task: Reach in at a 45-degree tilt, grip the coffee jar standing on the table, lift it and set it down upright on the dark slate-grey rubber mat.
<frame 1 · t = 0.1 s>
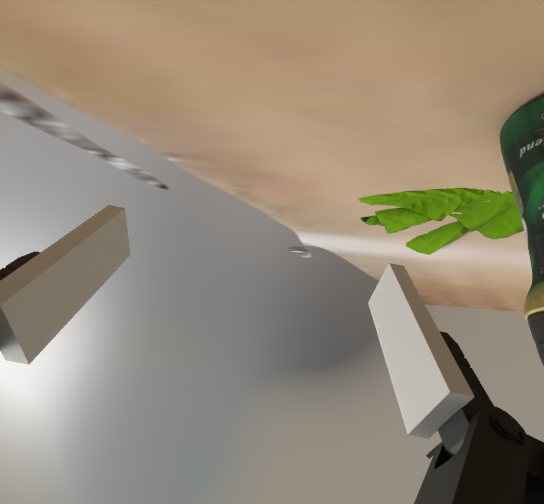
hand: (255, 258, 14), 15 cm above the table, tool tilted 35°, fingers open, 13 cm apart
cloth: (425, 217, 37), on the table
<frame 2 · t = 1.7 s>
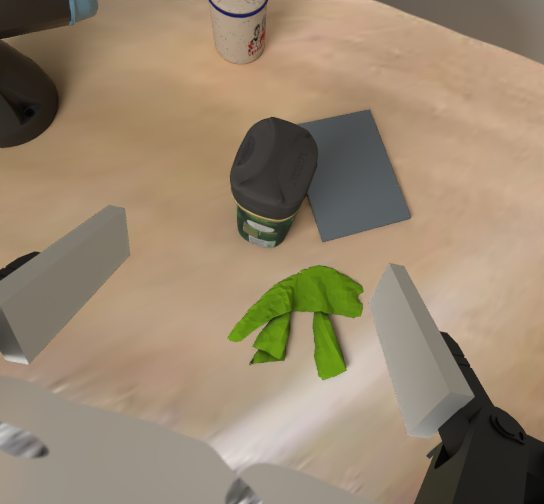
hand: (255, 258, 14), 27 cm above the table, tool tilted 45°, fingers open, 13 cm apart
teacup with lid: (242, 38, 49), on the table
coffee jar: (265, 218, 43), on the table
mat: (346, 173, 46), on the table
cloth: (298, 332, 41), on the table
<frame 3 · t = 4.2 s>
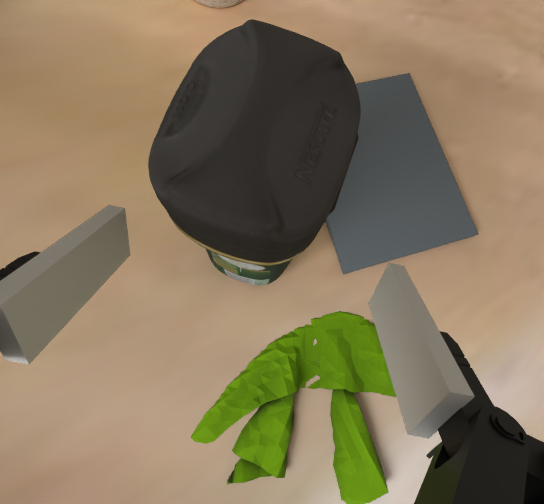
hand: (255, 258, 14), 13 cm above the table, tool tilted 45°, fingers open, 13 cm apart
coffee jar: (254, 237, 28), on the table
mat: (377, 167, 30), on the table
cloth: (307, 421, 26), on the table
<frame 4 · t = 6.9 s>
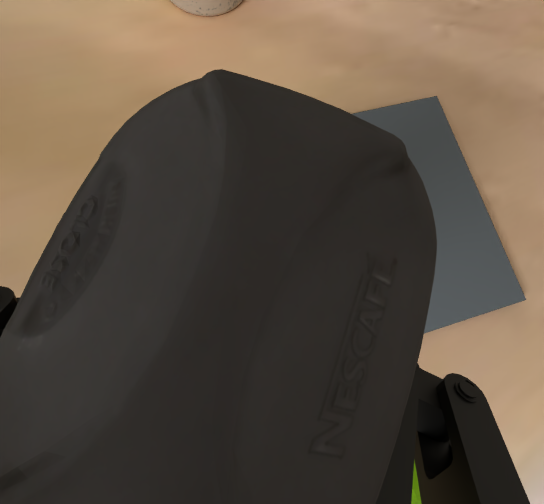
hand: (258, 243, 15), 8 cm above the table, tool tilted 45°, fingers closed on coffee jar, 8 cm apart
coffee jar: (247, 305, 22), on the table, touching gripper
mat: (399, 213, 25), on the table
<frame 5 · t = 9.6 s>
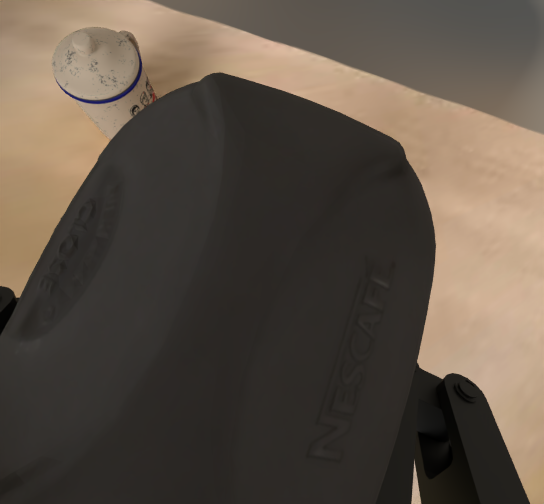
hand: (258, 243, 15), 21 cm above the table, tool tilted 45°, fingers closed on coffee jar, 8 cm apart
teacup with lid: (135, 109, 39), on the table
coffee jar: (246, 306, 22), point 13 cm above the table, touching gripper
when the fingers open (10 cm above the table, at t = 12.8 s): coffee jar drops 1 cm, resting on mat.
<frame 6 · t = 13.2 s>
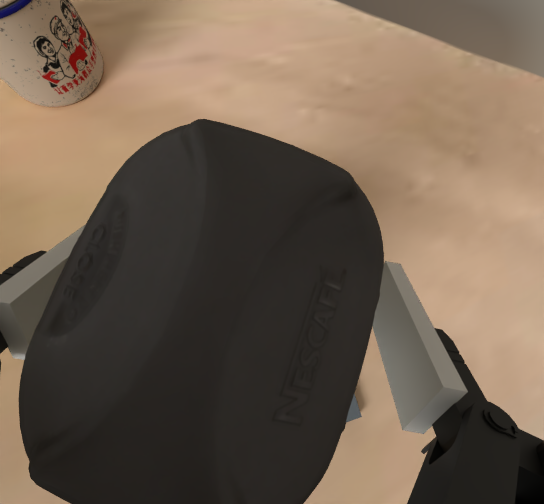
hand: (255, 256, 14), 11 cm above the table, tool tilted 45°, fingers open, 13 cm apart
teacup with lid: (66, 60, 28), on the table
coffee jar: (242, 305, 24), resting on mat
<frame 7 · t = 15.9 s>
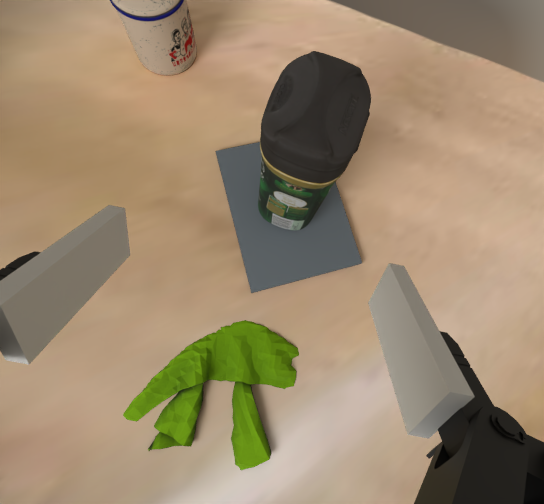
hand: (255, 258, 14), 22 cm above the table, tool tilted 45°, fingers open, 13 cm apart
teacup with lid: (171, 45, 42), on the table
coffee jar: (288, 197, 38), resting on mat
mat: (286, 207, 38), on the table
cloth: (215, 406, 33), on the table
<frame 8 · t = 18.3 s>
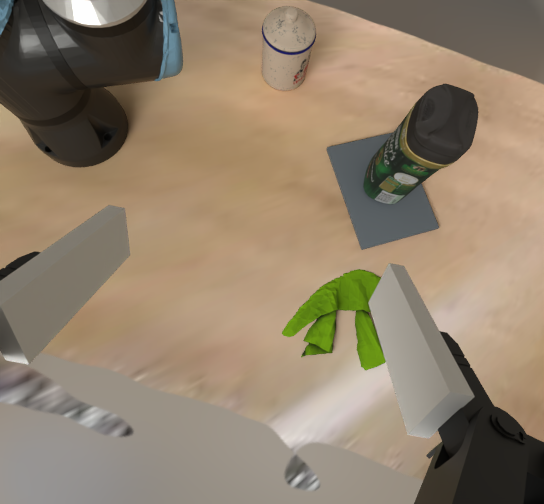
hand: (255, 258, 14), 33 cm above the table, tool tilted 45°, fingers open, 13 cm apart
teacup with lid: (285, 67, 55), on the table
coffee jar: (382, 181, 51), resting on mat
mat: (381, 188, 51), on the table
cloth: (342, 328, 47), on the table
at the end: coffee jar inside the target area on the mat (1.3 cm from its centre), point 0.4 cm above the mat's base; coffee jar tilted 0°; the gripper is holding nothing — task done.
